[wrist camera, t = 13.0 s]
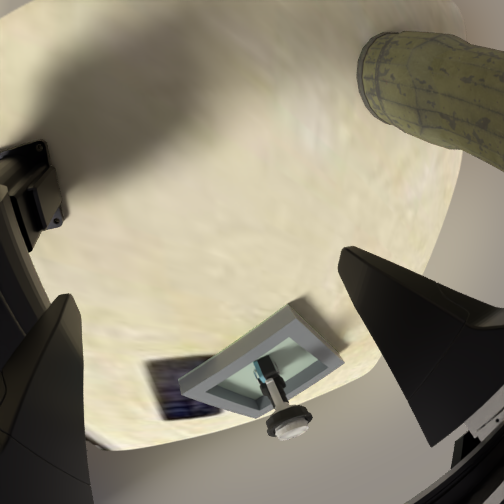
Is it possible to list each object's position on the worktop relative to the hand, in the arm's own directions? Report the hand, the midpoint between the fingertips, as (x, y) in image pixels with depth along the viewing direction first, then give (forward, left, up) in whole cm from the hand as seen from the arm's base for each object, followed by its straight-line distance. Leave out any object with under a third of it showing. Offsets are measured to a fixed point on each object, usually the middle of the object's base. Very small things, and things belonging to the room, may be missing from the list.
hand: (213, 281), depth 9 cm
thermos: (+18, +7, -13) cm, 23 cm away
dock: (+8, -27, -14) cm, 31 cm away
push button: (+8, -27, -13) cm, 31 cm away
